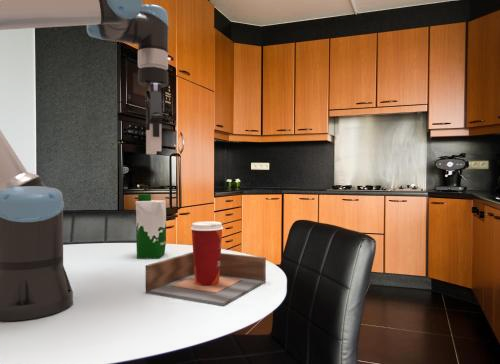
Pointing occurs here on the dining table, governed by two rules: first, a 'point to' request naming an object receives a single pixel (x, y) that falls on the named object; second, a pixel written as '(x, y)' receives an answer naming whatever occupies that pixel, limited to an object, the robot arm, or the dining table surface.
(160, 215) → the milk carton
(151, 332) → the dining table surface
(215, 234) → the paper cup
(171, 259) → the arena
